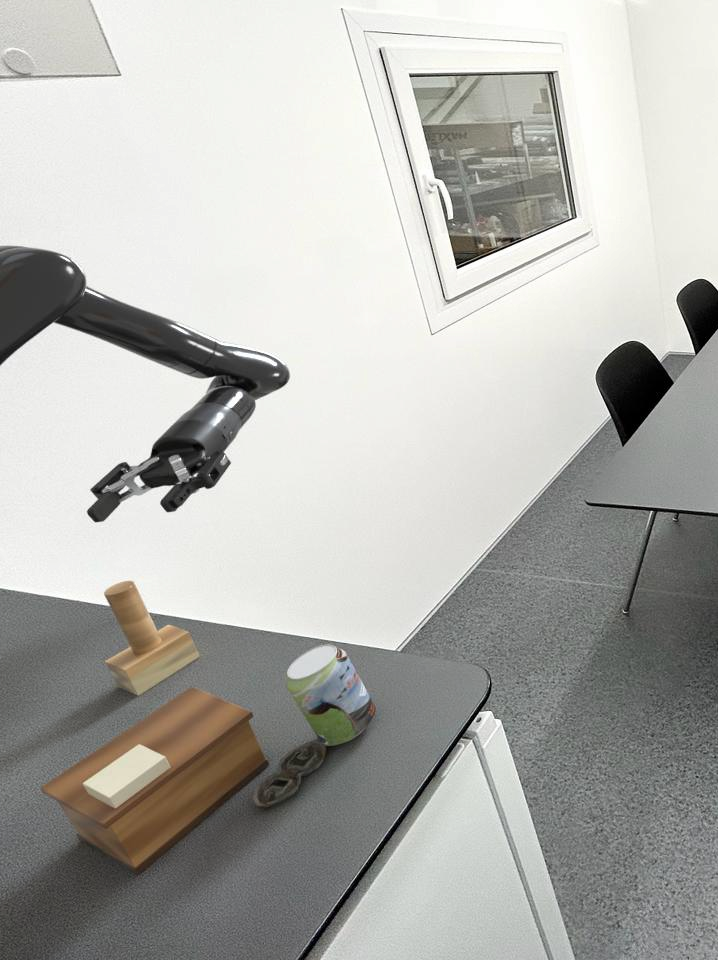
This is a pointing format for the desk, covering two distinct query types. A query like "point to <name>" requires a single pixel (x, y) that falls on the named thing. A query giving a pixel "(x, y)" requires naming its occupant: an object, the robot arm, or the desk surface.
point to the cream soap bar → (126, 776)
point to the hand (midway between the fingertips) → (130, 512)
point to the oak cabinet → (164, 778)
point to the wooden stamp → (145, 643)
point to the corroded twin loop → (289, 774)
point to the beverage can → (330, 694)
